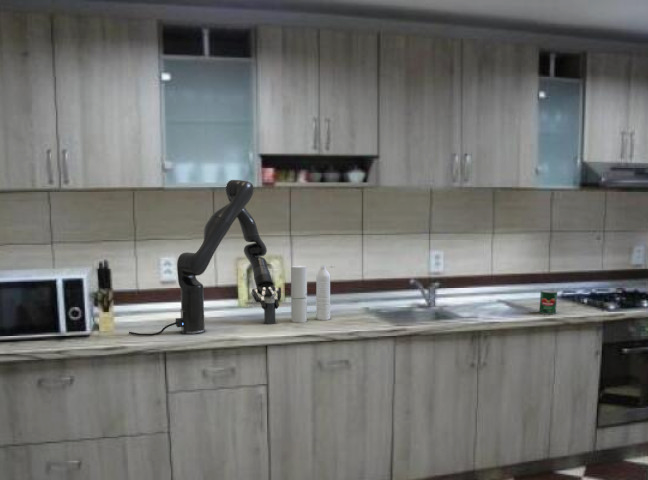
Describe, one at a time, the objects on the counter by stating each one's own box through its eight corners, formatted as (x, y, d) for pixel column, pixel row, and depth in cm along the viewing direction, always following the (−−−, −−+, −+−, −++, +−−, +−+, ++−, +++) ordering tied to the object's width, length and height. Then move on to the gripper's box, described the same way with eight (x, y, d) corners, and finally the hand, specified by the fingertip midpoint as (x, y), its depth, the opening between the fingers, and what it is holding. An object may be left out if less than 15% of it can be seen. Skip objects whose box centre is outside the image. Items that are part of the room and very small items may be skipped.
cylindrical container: (309, 319, 286) (309, 266, 282) (303, 322, 279) (303, 267, 275) (295, 318, 288) (294, 265, 284) (288, 321, 282) (288, 267, 277)
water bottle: (319, 320, 284) (319, 266, 280) (314, 318, 290) (314, 265, 286) (336, 319, 288) (337, 265, 283) (331, 316, 294) (331, 264, 289)
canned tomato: (543, 314, 302) (545, 292, 300) (536, 311, 310) (537, 289, 308) (558, 314, 303) (560, 292, 301) (551, 311, 311) (552, 289, 309)
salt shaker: (266, 324, 275) (265, 300, 273) (262, 322, 280) (262, 298, 278) (276, 323, 277) (276, 299, 275) (273, 321, 282) (273, 297, 280)
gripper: (249, 273, 279) (257, 304, 270) (279, 272, 284) (288, 302, 275) (246, 283, 284) (253, 314, 275) (275, 282, 290) (284, 311, 281)
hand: (271, 308), depth 275 cm, fingers closed on salt shaker, 5 cm apart
